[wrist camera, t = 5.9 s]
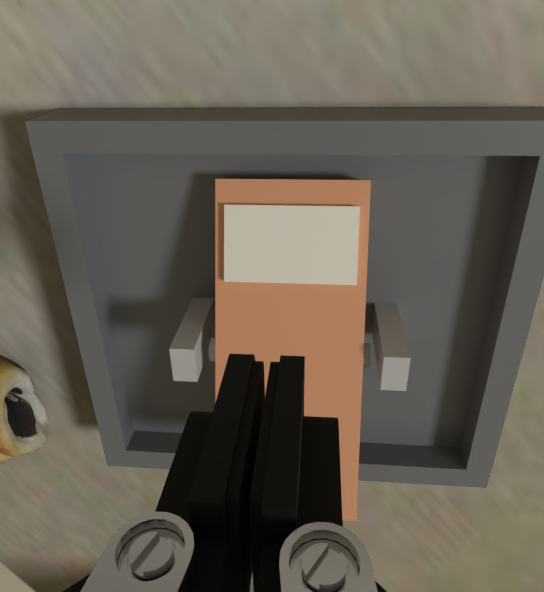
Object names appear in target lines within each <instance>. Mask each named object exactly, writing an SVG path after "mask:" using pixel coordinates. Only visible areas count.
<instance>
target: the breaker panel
mask: <svg viewBox="0 0 544 592" xmlns="http://www.w3.org/2000/svg"><path fill="white" fill-rule="evenodd" d="M25 124H26V129H27V133H28V137H29V141H30V145H31V149H32V154H33V158H34V162H35V166H36V170H37V174H38V179H39V183H40V187H41V191H42V195H43V199H44V203H45V208H46V212H47V216H48V220H49V224H50V228H51V233H52V237H53V241H54V245H55V249H56V253H57V257H58V262H59V266H60V270H61V274H62V278H63V282H64V287H65V291H66V295H67V299H68V303H69V307H70V312H71V316H72V320H73V324H74V328H75V332H76V336H77V341H78V345H79V349H80V353H81V357H82V361H83V366H84V370H85V374H86V378H87V382H88V386H89V391H90V395H91V399H92V403H93V407H94V411H95V415H96V420H97V424H98V428H99V432H100V436H101V440H102V445H103V449H104V453H105V457H106V461H107V465H109V466H126V467H143V468H160V469H170V468H171V465H172V462H173V459H174V456H175V453H176V450H177V447H178V444H179V441H180V439H181V436H182V433H183V430H184V427H185V424H186V421H187V418H188V416H189V414H190V412H191V411H204V412H213V410H214V406H215V361H210V360H209V343H210V339H211V338H215V179H296V180H371V193H370V216H369V239H368V262H367V285H366V308H365V332H364V343H370V347H371V361H370V367H369V368H364V367H363V378H362V401H361V424H360V447H359V470H358V480H363V481H380V482H397V483H414V484H431V485H448V486H465V487H482V488H487V484H488V480H489V476H490V473H491V469H492V465H493V462H494V458H495V454H496V450H497V447H498V443H499V439H500V436H501V432H502V428H503V424H504V421H505V417H506V413H507V410H508V406H509V402H510V398H511V395H512V391H513V387H514V384H515V380H516V376H517V372H518V369H519V365H520V361H521V358H522V354H523V350H524V346H525V343H526V339H527V335H528V332H529V328H530V324H531V320H532V317H533V313H534V309H535V306H536V302H537V298H538V294H539V291H540V287H541V283H542V280H543V276H544V107H326V108H60V109H58V110H55V111H52V112H49V113H46V114H43V115H41V116H38V117H35V118H32V119H29V120H26V121H25Z"/></svg>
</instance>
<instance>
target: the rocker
mask: <svg viewBox="0 0 544 592" xmlns="http://www.w3.org/2000/svg"><path fill="white" fill-rule="evenodd" d="M370 193H371V180H296V179H215V338H211V339H210V343H209V360H210V361H215V403H216V399H217V395H218V392H219V388H220V385H221V381H222V378H223V374H224V371H225V367H226V364H227V360H228V357H229V354H254V355H255V361H263V362H264V381H265V394H266V388H267V381H268V375H269V368H270V363H271V362H280V356H281V355H284V356H305V384H304V416H313V417H334V418H338V422H339V446H340V471H341V497H342V520H351V521H356V517H357V494H358V470H359V447H360V424H361V401H362V378H363V367H364V368H369V367H370V361H371V347H370V343H364V332H365V308H366V285H367V262H368V239H369V216H370Z"/></svg>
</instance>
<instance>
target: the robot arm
mask: <svg viewBox="0 0 544 592" xmlns="http://www.w3.org/2000/svg"><path fill="white" fill-rule="evenodd" d="M304 384H305V356H284V355H281V356H280V362H271V363H270V368H269V375H268V381H267V388H266V394H265V381H264V362H263V361H255V355H254V354H229V357H228V360H227V364H226V367H225V371H224V374H223V378H222V381H221V385H220V388H219V392H218V395H217V399H216V403H215V406H214V410H213V412H204V411H191V412H190V414H189V416H188V418H187V421H186V424H185V427H184V430H183V433H182V436H181V439H180V441H179V444H178V447H177V450H176V453H175V456H174V459H173V462H172V465H171V468H170V471H169V474H168V476H167V479H166V482H165V485H164V488H163V491H162V494H161V497H160V500H159V503H158V506H157V509H156V511H155V512H151V513H146V514H142V515H140V516H138V517H136V518H133V519H131V520H129V521H128V522H127V523H126V524H124V525H123V526H122V527H121V528H119V529H118V531H117V532H116V533H115V535H114V536H113V537H112V538H111V540H110V541H109V543H108V545H107V547H106V548H105V550H104V552H103V554H102V555H101V557H100V559H99V560H98V562H97V564H96V566H95V567H94V569H93V571H92V572H91V574H89V575H88V576H86V577H85V578H83V579H82V580H80V581H79V582H77V583H75V584H74V585H72V586H71V587H69V588H68V589H66V590H65V591H63V592H386V591H385V590H384V589H383V588H382V587H381V586H380V585H379V584H378V583H377V582H376V581H375V579H374V575H373V571H372V567H371V563H370V559H369V556H368V554H367V551H366V549H365V547H364V545H363V544H362V542H361V541H360V540H359V539H358V538H357V536H356V535H355V534H353V533H352V532H350V531H349V530H347V529H346V528H344V527H343V522H342V497H341V471H340V446H339V422H338V418H334V417H313V416H304Z"/></svg>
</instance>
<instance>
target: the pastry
mask: <svg viewBox="0 0 544 592" xmlns="http://www.w3.org/2000/svg"><path fill="white" fill-rule="evenodd" d="M47 420H48V415H47V413H46V409H45V407H44V406H43V404H42V403H41V401H40V399H39V398H38V397H37V395H36V394H35V392H34V388H33V385H32V382H31V379H30V377H29V375H28V374H27V373H26V372H25V371H24V370H23V369H21V368H20V367H18V366H16V365H14V364H13V363H12V362H10V361H9V360H7V359H5V358H2V357H0V464H2V463H5V462H7V461H9V460H10V459H11V458H13V457H17V456H21V455H25V454H27V453H30V452H32V451H33V450H38V449H40V448H42V447H43V445H44V444H45V442H46V440H47V438H48V433H47V427H48V423H47Z"/></svg>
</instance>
